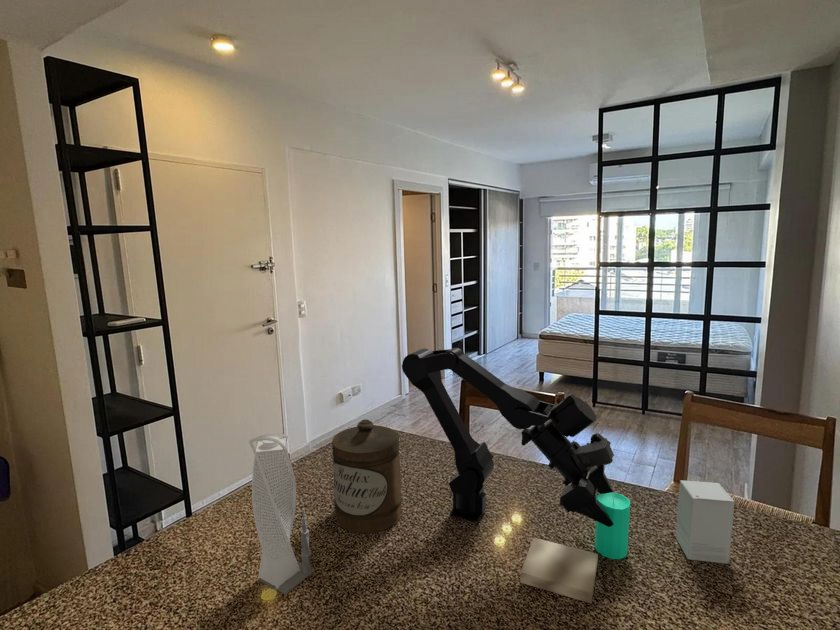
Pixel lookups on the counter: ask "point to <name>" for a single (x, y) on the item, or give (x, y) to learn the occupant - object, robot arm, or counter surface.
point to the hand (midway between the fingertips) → (614, 512)
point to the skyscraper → (277, 515)
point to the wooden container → (367, 478)
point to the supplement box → (704, 521)
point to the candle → (613, 526)
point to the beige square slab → (560, 569)
